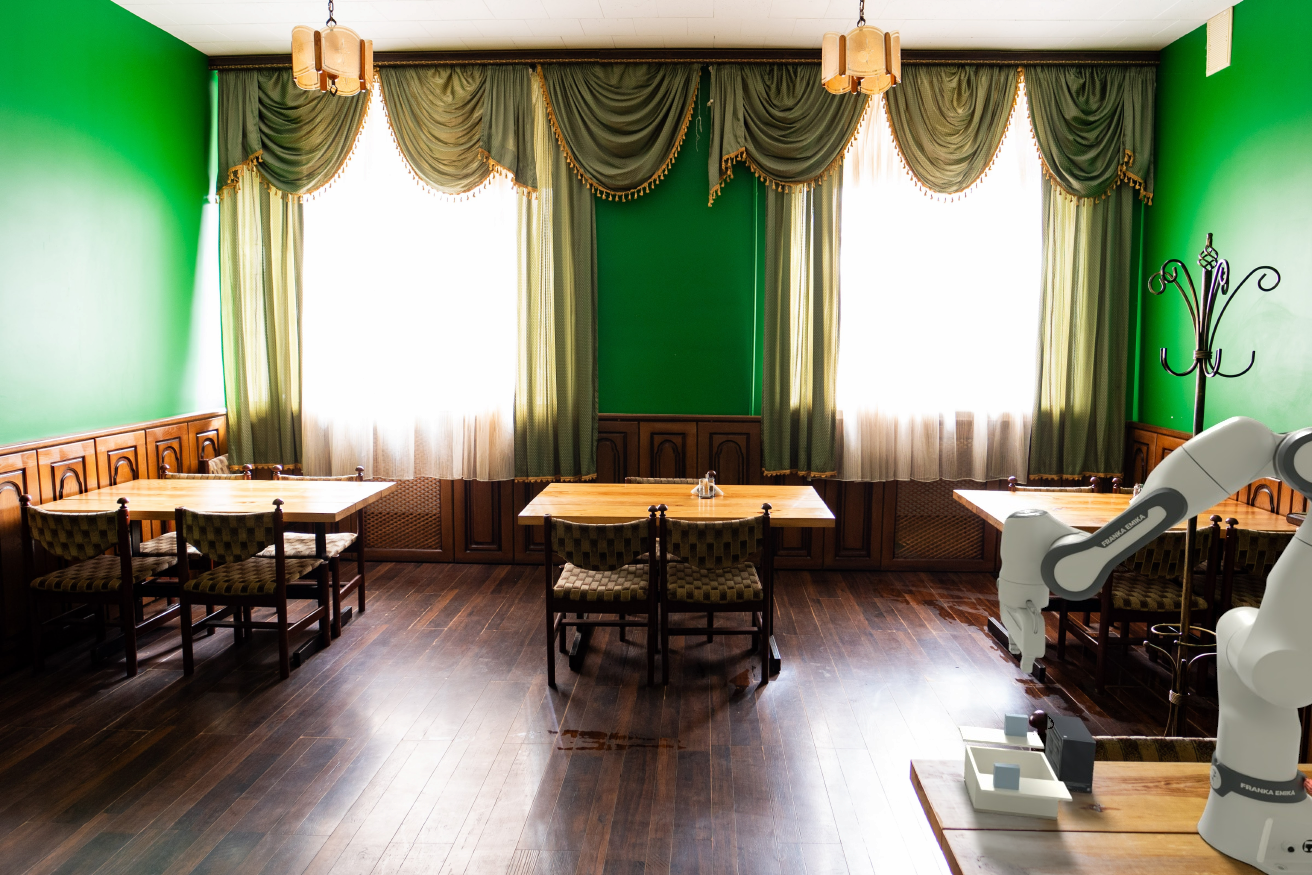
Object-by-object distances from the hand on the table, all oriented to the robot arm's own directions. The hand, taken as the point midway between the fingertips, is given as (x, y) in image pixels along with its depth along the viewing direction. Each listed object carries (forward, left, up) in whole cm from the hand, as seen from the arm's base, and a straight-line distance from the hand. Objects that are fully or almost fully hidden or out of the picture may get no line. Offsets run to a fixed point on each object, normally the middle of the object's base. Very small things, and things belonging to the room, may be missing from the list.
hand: (1020, 661), depth 158 cm
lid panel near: (+3, +19, -15) cm, 25 cm away
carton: (+3, +10, -23) cm, 25 cm away
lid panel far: (+3, +1, -16) cm, 16 cm away
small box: (-10, 0, -23) cm, 25 cm away
